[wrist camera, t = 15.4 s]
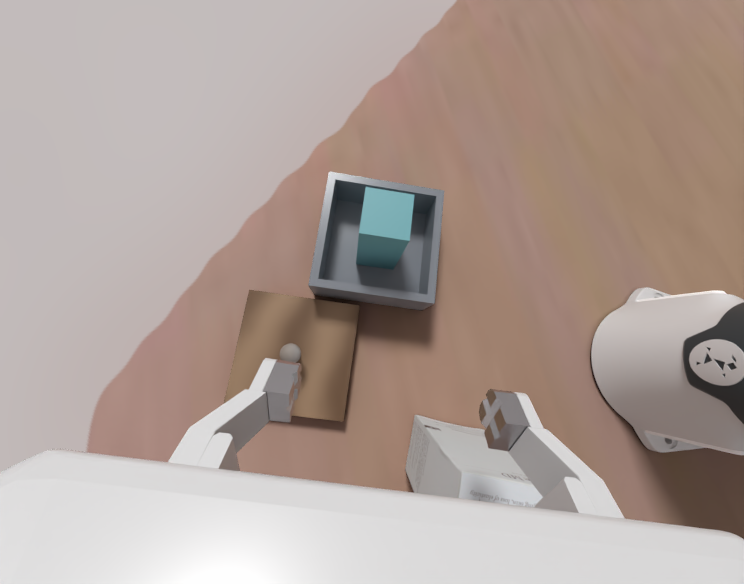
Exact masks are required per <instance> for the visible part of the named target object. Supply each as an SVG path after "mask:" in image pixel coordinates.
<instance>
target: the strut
mask: <svg viewBox="0 0 744 584" xmlns="http://www.w3.org/2000/svg"><path fill="white" fill-rule="evenodd" d="M414 196H415V195H413V194H406V193H400V192H394V191H388V190H382V189H376V188H370V187H366V188H365V195H364V202H363V208H362V215H361V222H360V229H359V237H358V247H357V258H356V264H358V265H365V266H371V267H378V268H385V269H392V270H393V269H394V268H395V266H396V264H397V262H398V261H399V259H400V257H401V255H402V253H403V252H404V250H405V248H406V246H407V245H408V243H409V241H410V232H411V223H412V214H413V205H414Z"/></svg>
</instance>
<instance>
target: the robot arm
mask: <svg viewBox="0 0 744 584" xmlns="http://www.w3.org/2000/svg"><path fill="white" fill-rule="evenodd" d="M591 360H592V368H593V372H594V376H595V379H596V382H597V384H598V387H599V389H600V391H601V392H602V394H603V396H604V397H605V399H606V400H607V402H608V403H609V404H610V405H611V407H612V408H613V409H614V410H615V411H616V412H617V413H618V414H620V415H621V416H622V417H623V418H624V419H625V420H627V421H628V422H629V423H630V424H631V425H632V426H633V428H634V430H635V431H636V433H637V435H638V437H639V438H640V440H641V441H642V443H643V444H644V445H645V446H646V448H648V449H649V450H652V451H656V452H661V453H665V452H674V451H683V450H692V449H701V448H711V449H715V450H719V451H723V452H727V453H732V454H737V455H744V300H743V299H741V298H739V297H737V296H734V295H730V294H726V293H725V292H724V291H706V292H698V293H689V294H681V295H673V296H672V295H669V294H666V293H663V292H660V291H658V290H655V289H652V288H638V289H636V290H635V291H634V292H633V293H632V294H631V296H630V297H629V299H628V301H627V302H626V304H624V305H623V306H622V307H620V308H618V309H617V310H615V311H613V312H612V313H610V314H609V315H608V316H607V317H606V318H605V319H604V320H603V321H602V322H601V324H600V325H599V327H598V328H597V331H596V333H595V335H594V339H593V343H592V350H591ZM301 369H302V366H301V363H295V362H289V361H283V360H276V359H270V358H265V359H264V360H263V362H262V364H261V366H260V368H259V370H258V372H257V374H256V376H255V378H254V380H253V382H252V384H251V386H250V388H249V390H247V389H245V390H243V391H242V392H240V393H239V394H237V395H236V396H234V397H233V398H232V399H230V400H229V401H227V402H226V403H224V404H223V405H221V406H220V407H218V408H217V409H216V410H214V411H213V412H211V413H210V414H208V415H207V416H205V417H204V418H203V419H201V420H200V421H198V422H197V423H195V424H194V425H192V426H191V427H190V428H189V429H188V431H187V432H186V434H185V436H184V437H183V439H182V440H181V442H180V444H179V445H178V447H177V448H176V450H175V452H174V453H173V455H172V456H171V458H170V460H169V461H168V462H161V461H153V460H145V459H137V458H129V457H121V456H113V455H105V454H97V453H89V452H80V451H73V450H64V449H52V450H48V451H44V452H42V453H40V454H37V455H35V456H33V457H30V458H28V459H26V460H24V461H22V462H20V463H18V464H16V465H14V466H12V467H9V468H8V469H5V470H3V471H1V472H0V584H744V539H743V538H741V537H739V536H737V535H735V534H733V533H730V532H726V531H721V530H713V529H705V528H697V527H688V526H680V525H672V524H664V523H656V522H648V521H640V520H632V519H625V518H624V516H623V515H622V513H621V511H620V509H619V508H618V506H617V504H616V502H615V501H614V499H613V497H612V495H611V494H610V492H609V490H608V488H607V487H606V485H605V483H604V481H603V480H602V479H601V478H600V477H599V476H598V475H596V474H595V473H594V472H593V471H592V470H591V469H590V468H589V467H588V466H587V465H586V464H584V463H583V462H582V461H581V460H580V459H579V458H578V457H577V456H576V455H575V454H574V453H572V452H571V451H570V450H569V449H568V448H567V447H566V446H565V445H564V444H563V443H562V442H560V441H559V440H558V439H557V438H556V437H555V436H554V435H553V434H552V433H551V432H550V431H548V430H547V429H544V428H543V426H542V424H541V422H540V420H539V418H538V416H537V414H536V412H535V409H534V407H533V405H532V403H531V401H530V399H529V397H528V396H527V395H526V394H524V393H517V392H511V391H503V390H495V389H490V390H488V392H487V394H486V396H487V399H485V400H483V401H482V403H481V405H480V409H479V416H480V420H481V423H482V424H483V425H484V426H485V428H486V430H485V432H484V434H485V438H486V441H487V444H488V448H490V449H496V450H503V451H509V452H508V453H509V454H510V455H511V457H512V458H513V459H514V461H515V462H516V463H517V464H518V466H519V467H520V468H521V470H522V471H523V472H524V473H525V475H526V476H527V477H528V479H529V480H530V481H531V482H532V484H533V485H534V486H535V488H536V489H537V490H538V492H539V493H540V494H541V495H542V497H543V498H542V499H541V500H540V501H539V502H538V503H537V504H536V505H535V506H534V507H526V506H518V505H509V504H501V503H493V502H485V501H477V500H469V499H461V498H453V497H445V496H437V495H429V494H421V493H413V492H405V491H396V490H388V489H380V488H372V487H364V486H356V485H348V484H339V483H331V482H323V481H315V480H307V479H299V478H291V477H283V476H274V475H266V474H258V473H250V472H242V471H240V468H239V464H238V459H237V455H236V453H237V452H238V451H239V450H240V449H241V448H242V447H243V446H244V445H245V444H246V443H247V442H248V441H250V440H251V439H252V438H253V437H254V436H255V435H256V434H257V433H258V432H259V431H260V430H261V429H262V428H263V427H264V426H265V425H266V424H267V423H268V422H269V420H270V421H280V422H290V421H291V417H292V414H293V411H294V408H295V400H296V399H298V395H299V392H300V387H301V378H302V376H301V375H300V373H301Z"/></svg>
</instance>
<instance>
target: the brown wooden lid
mask: <svg viewBox="0 0 744 584" xmlns="http://www.w3.org/2000/svg"><path fill="white" fill-rule="evenodd" d="M359 308H360V305H352V304H345V303H338V302H331V301H324V300H317V299H310V298H303V297H296V296H289V295H282V294H275V293H268V292H261V291H254V290H249V294H248V298H247V303H246V307H245V312H244V316H243V320H242V325H241V329H240V334H239V338H238V342H237V347H236V351H235V356H234V360H233V365H232V369H231V373H230V378H229V382H228V387H227V391H226V395H225V400H224V403H226V402H227V401H229V400H230V399H232V398H233V397H234V396H236V395H237V394H239V393H240V392H242V391H243V390H245V389H247V390H249V388H250V386H251V384H252V382H253V380H254V378H255V376H256V374H257V372H258V370H259V368H260V366H261V364H262V362H263V360H264V359H265V358H270V359H276V360H283V361H289V362H295V363H301V366H302V369H301V373H300V375H301V376H302V378H301V387H300V392H299V395H298V399H296V400H295V408H294V411H293V414H292V416H300V417H309V418H317V419H325V420H334V421H342V422H343V421H344V414H345V407H346V400H347V393H348V386H349V378H350V371H351V364H352V357H353V350H354V343H355V336H356V329H357V322H358V315H359Z"/></svg>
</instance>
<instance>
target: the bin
mask: <svg viewBox="0 0 744 584" xmlns="http://www.w3.org/2000/svg"><path fill="white" fill-rule="evenodd" d="M366 187H370V188H376V189H382V190H388V191H394V192H400V193H406V194H413V195H415V196H414V205H413V214H412V223H411V232H410V241H409V243H408V245H407V246H406V248H405V250H404V252H403V253H402V255H401V257H400V259H399V261H398V262H397V264H396V266H395V268H394V269H393V270H392V269H385V268H378V267H371V266H365V265H358V264H356V258H357V247H358V237H359V229H360V222H361V215H362V208H363V202H364V195H365V188H366ZM443 199H444V191H443V190H437V189H431V188H425V187H419V186H413V185H407V184H401V183H395V182H389V181H383V180H377V179H371V178H365V177H359V176H353V175H347V174H341V173H335V172H329V175H328V181H327V186H326V192H325V197H324V203H323V208H322V214H321V219H320V225H319V230H318V236H317V241H316V247H315V252H314V258H313V263H312V269H311V274H310V280H309V287H310V289H311V290H312V292H313V294H314V295H317V296H324V297H331V298H338V299H345V300H352V301H359V302H366V303H373V304H380V305H387V306H394V307H401V308H408V309H415V310H424V309H426V308H427V307H429V306H431V305H433V304H435V292H436V281H437V269H438V257H439V246H440V234H441V222H442V211H443Z"/></svg>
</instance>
